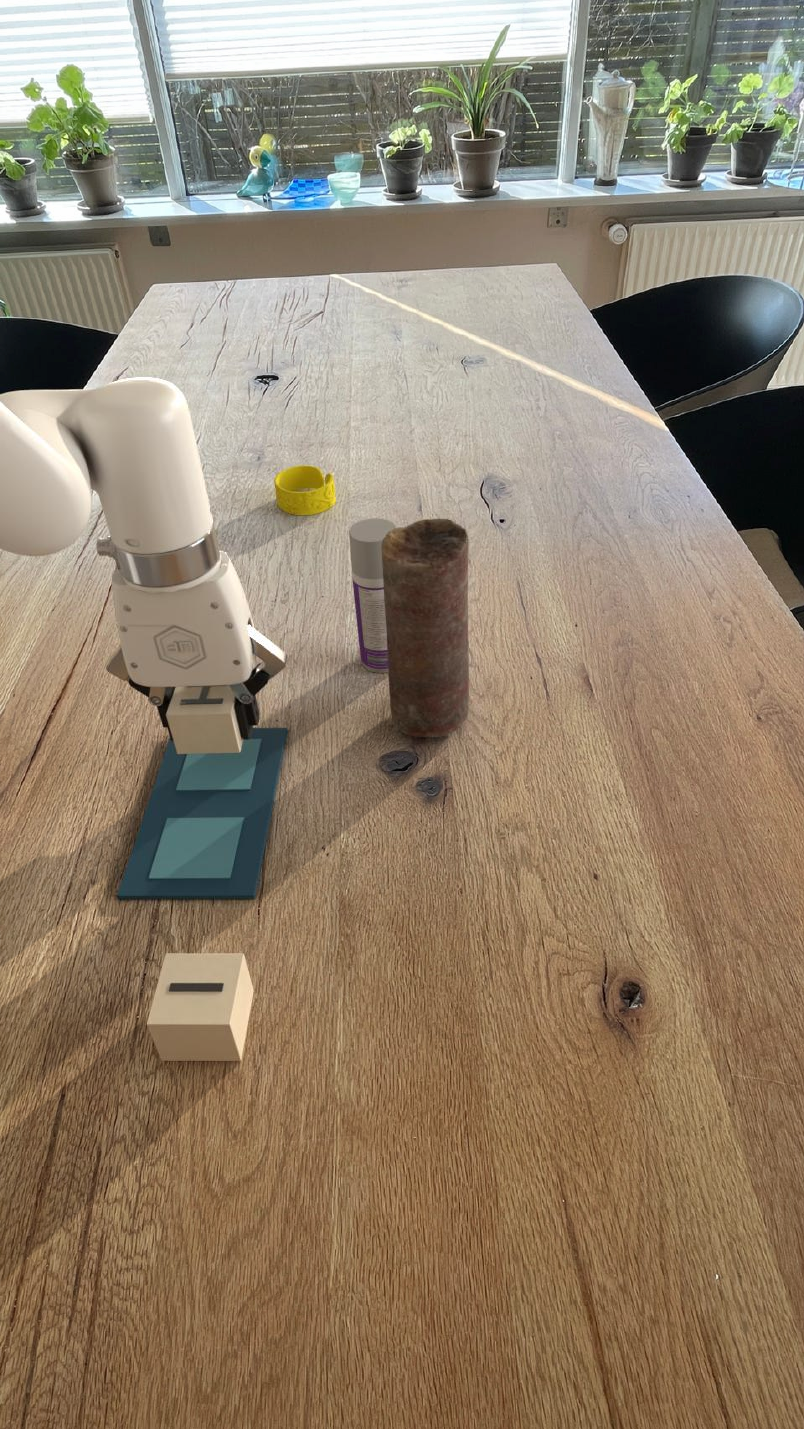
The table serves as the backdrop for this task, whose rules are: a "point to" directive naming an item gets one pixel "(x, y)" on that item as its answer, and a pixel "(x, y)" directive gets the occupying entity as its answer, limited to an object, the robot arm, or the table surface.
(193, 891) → the word mat
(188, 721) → the tile
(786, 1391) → the table surface
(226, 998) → the tile
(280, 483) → the bracelet
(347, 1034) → the table surface
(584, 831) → the table surface
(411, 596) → the candle
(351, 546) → the container
